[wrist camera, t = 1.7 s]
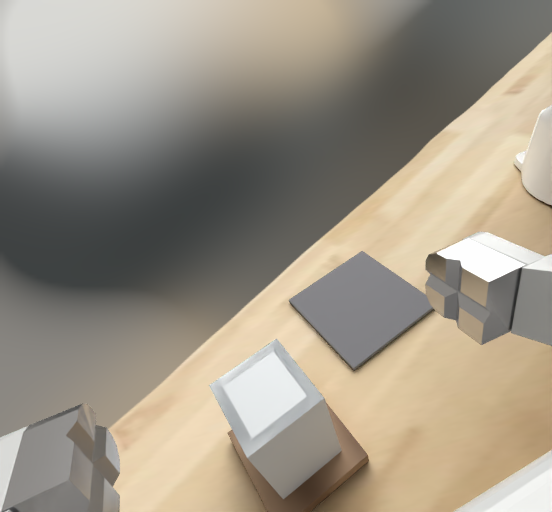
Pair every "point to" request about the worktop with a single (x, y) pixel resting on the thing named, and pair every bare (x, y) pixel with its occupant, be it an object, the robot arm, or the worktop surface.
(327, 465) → the square wooden plinth
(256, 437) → the sleeve lid
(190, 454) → the worktop surface
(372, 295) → the rubber mat
